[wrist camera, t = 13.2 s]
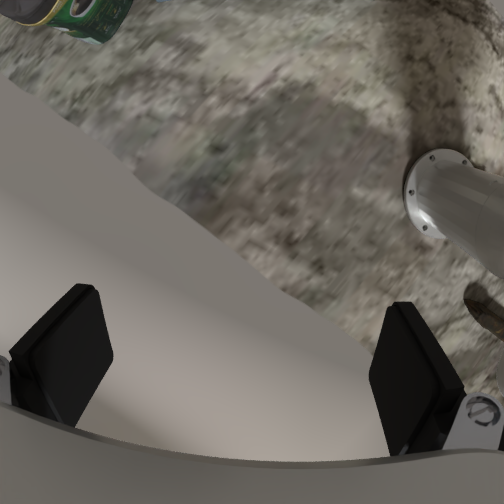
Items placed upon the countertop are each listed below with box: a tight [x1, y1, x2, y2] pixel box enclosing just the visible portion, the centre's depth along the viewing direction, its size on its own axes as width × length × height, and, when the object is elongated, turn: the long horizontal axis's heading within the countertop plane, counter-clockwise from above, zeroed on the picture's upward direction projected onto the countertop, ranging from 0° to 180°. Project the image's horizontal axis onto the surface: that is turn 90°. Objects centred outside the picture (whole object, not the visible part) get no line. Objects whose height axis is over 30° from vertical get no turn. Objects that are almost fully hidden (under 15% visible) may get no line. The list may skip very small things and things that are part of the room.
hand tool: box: [464, 299, 504, 342], centre depth 44 cm, size 19×4×5 cm, turn 59°
